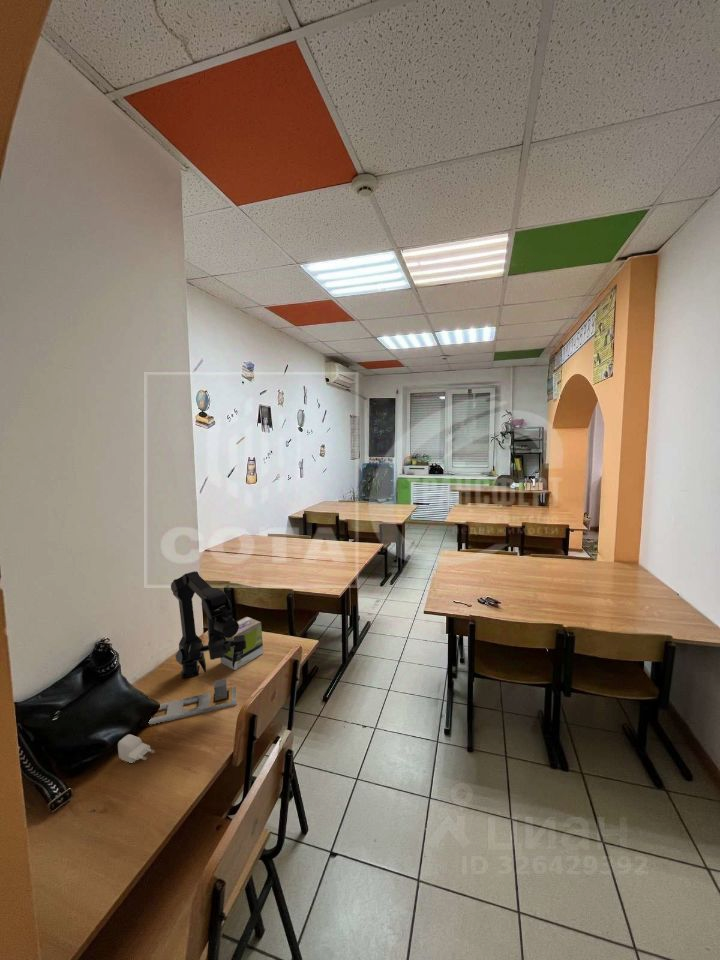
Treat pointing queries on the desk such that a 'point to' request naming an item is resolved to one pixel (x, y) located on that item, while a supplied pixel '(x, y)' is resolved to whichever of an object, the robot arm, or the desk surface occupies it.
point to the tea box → (253, 643)
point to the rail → (204, 706)
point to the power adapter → (132, 748)
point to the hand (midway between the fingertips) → (219, 669)
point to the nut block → (220, 690)
